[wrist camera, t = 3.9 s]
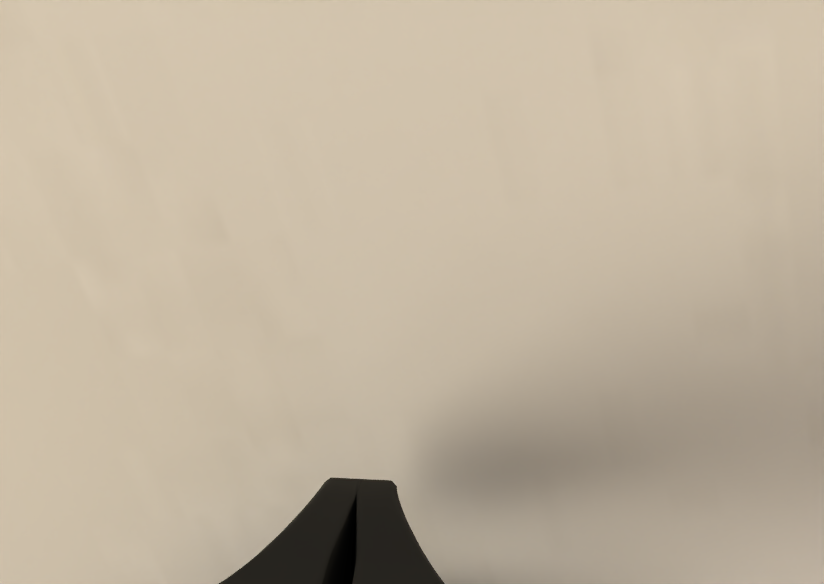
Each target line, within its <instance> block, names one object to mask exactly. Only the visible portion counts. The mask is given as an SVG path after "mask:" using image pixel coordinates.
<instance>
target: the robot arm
mask: <svg viewBox="0 0 824 584" xmlns="http://www.w3.org/2000/svg"><path fill="white" fill-rule="evenodd" d="M219 584H444V582H443V581H442V580H441V578H440V577H439V576H438V574H437V573H436V571H435V570H434V568H433V567H432V565H431V564H430V562H429V561H428V559H427V557H426V556H425V554H424V553H423V551H422V549H421V547H420V546H419V544H418V542H417V540H416V538H415V536H414V534H413V532H412V530H411V528H410V526H409V524H408V522H407V520H406V517H405V515H404V512H403V510H402V507H401V504H400V501H399V498H398V494H397V486H396V485H395V484H394V483H393V482H392V481H388V480H367V479H346V478H330V479H328V480H327V481H326V482H325V483H324V484H323V486H322V487H321V488H320V489H319V491H318V492H317V493H316V495H315V496H314V497H313V498H312V499H311V501H310V502H309V503H308V504H307V505H306V507H305V508H304V509H303V510H302V511H301V512H300V513H299V514H298V515H297V517H296V518H295V519H294V520H293V521H292V522H291V523H290V524H289V525H288V526H287V527H286V528H285V529H284V530H283V531H282V532H281V533H280V534H279V535H278V536H277V537H276V538H275V539H274V540H273V541H272V542H271V543H270V544H269V545H268V546H267V547H265V548H264V549H263V550H262V551H261V552H260V553H259V554H258V555H257V556H256V557H254V558H253V559H252V560H251V561H250V562H248V563H247V564H246V565H245V566H243V567H242V568H241V569H239V570H238V571H237V572H235V573H234V574H233V575H231V576H230V577H228V578H227V579H225V580H224V581H222V582H221V583H219Z"/></svg>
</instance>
